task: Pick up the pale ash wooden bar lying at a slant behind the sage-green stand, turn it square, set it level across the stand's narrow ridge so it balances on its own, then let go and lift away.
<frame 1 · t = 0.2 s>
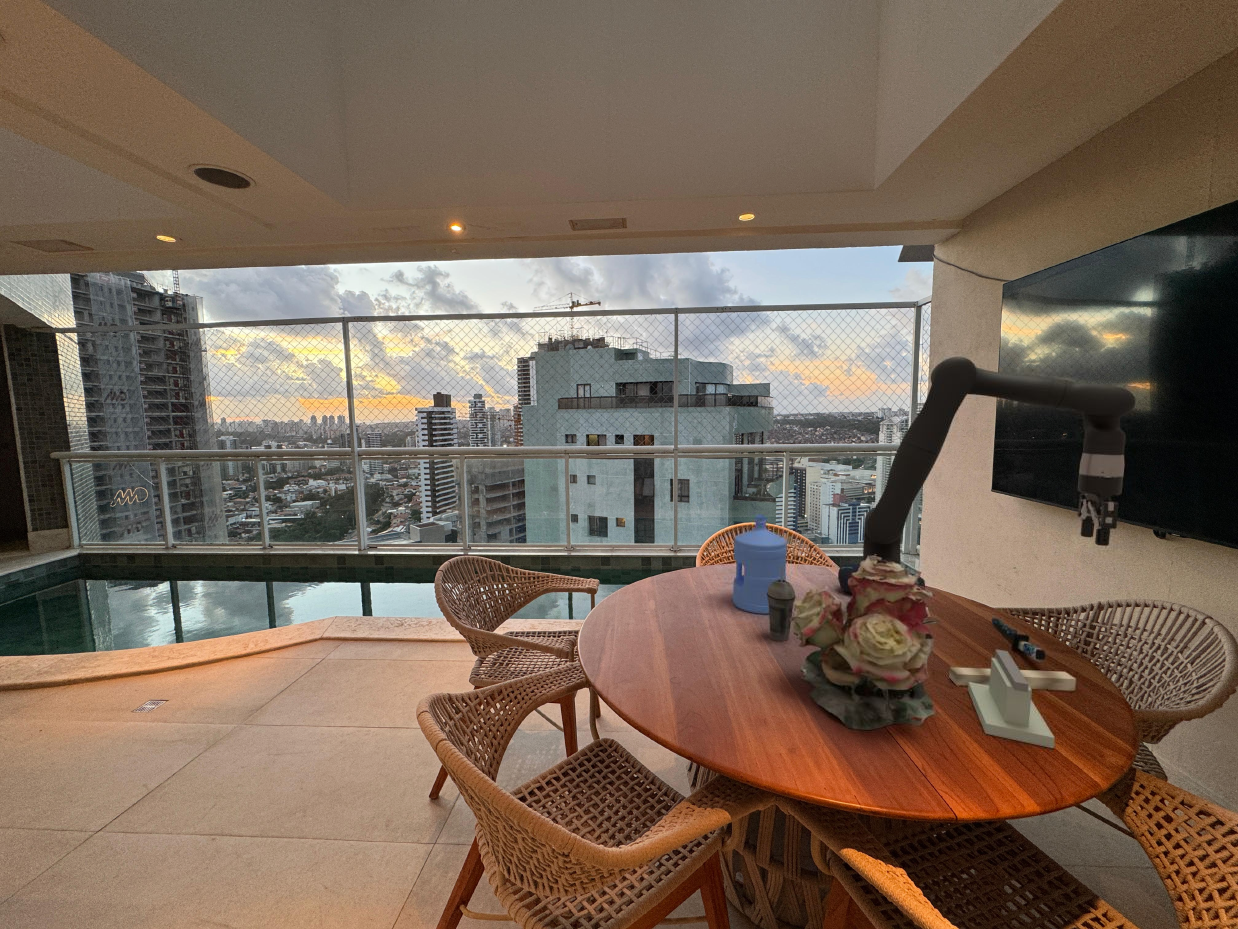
hand: (1093, 540, 120), 29 cm above the table, tool pointing down, fingers open, 8 cm apart
rose bouquet: (865, 698, 106), on the table
water jug: (758, 605, 157), on the table
knife: (1014, 646, 129), on the table
portable speaker: (878, 598, 162), on the table
beverage cup: (779, 638, 134), on the table
stand: (1006, 716, 99), on the table
bar: (1010, 686, 111), on the table
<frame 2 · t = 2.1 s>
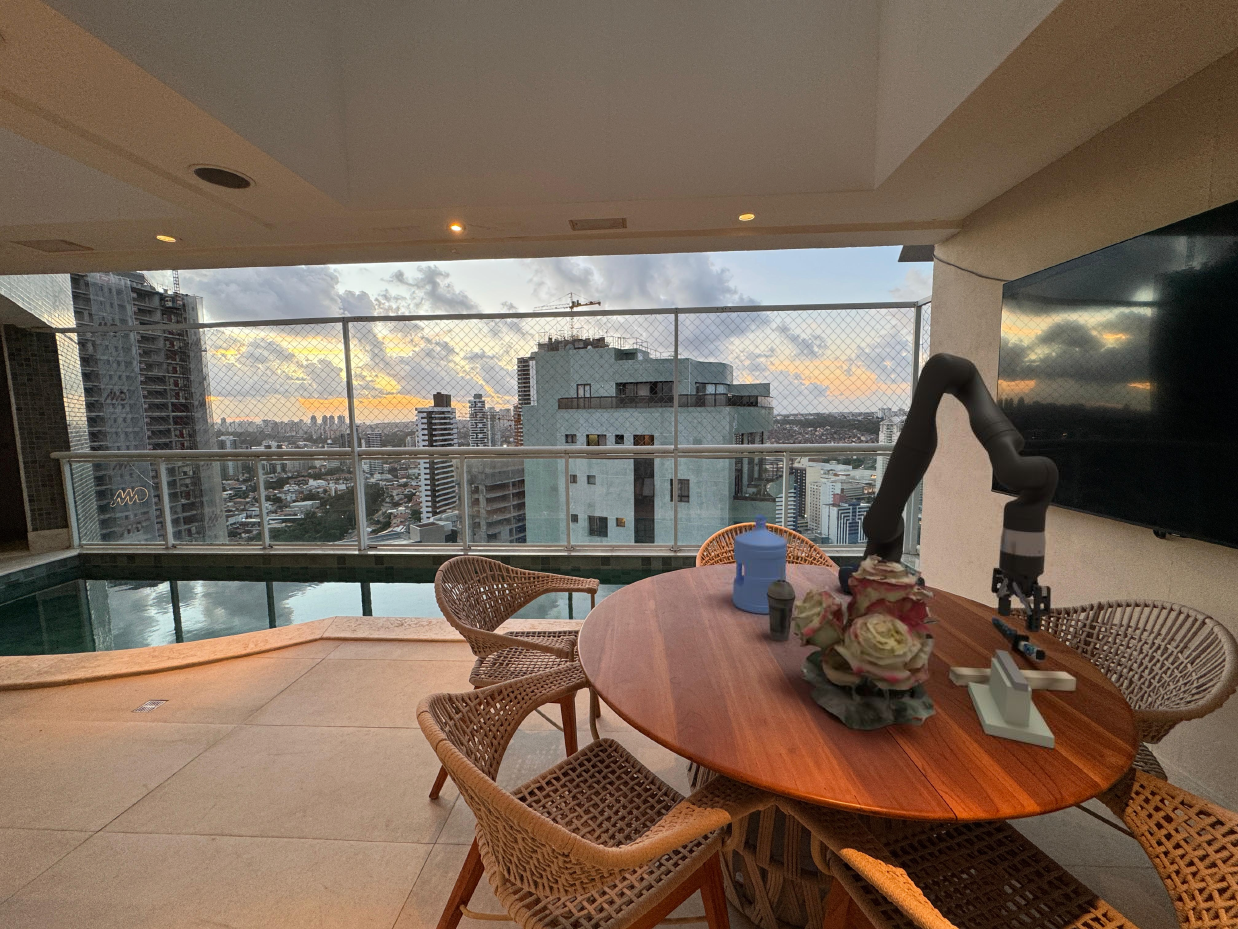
hand: (1017, 623, 109), 14 cm above the table, tool pointing down, fingers open, 8 cm apart
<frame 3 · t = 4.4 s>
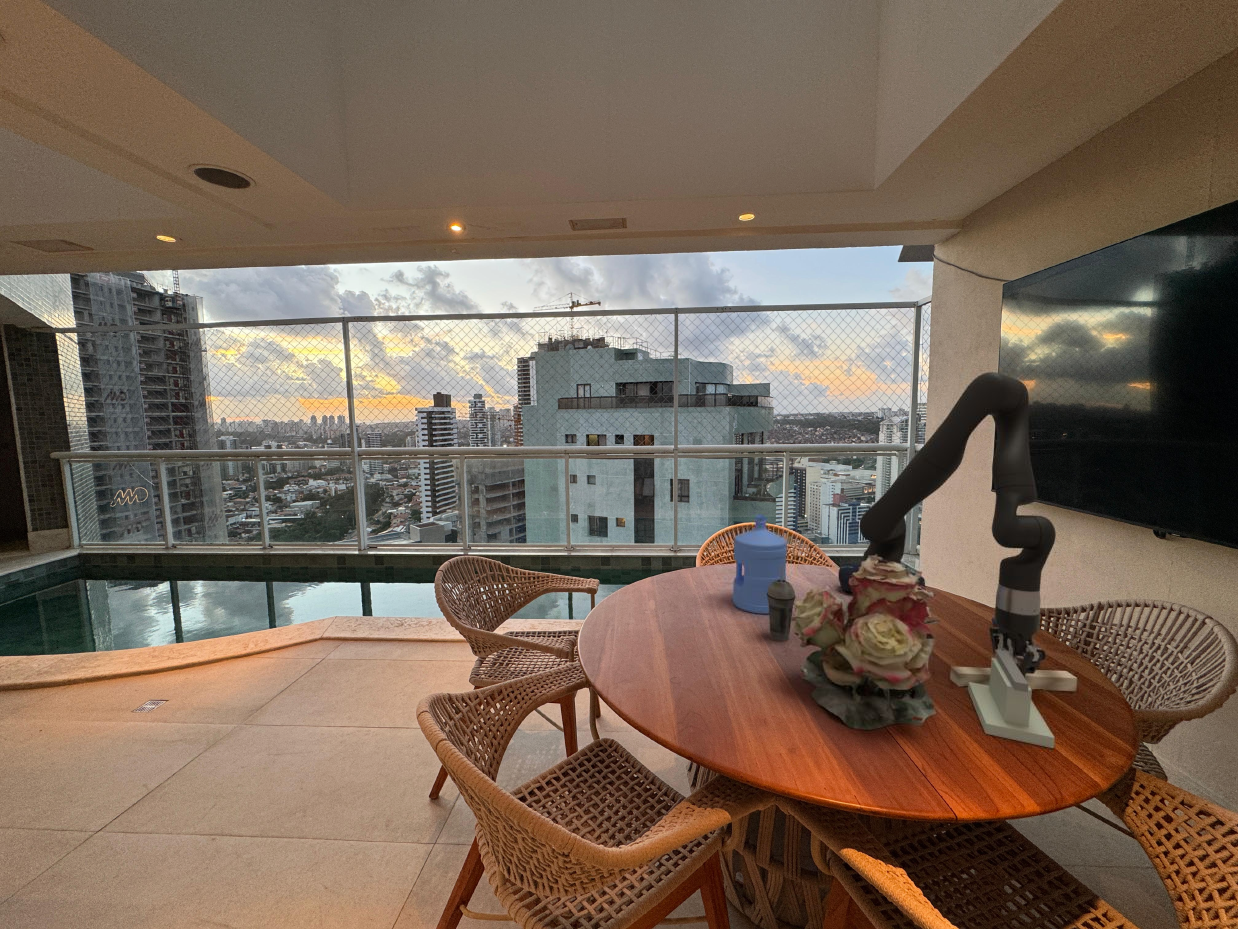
hand: (1011, 682, 111), 0 cm above the table, tool pointing down, fingers closed on bar, 3 cm apart
bar: (1011, 685, 111), on the table, touching gripper
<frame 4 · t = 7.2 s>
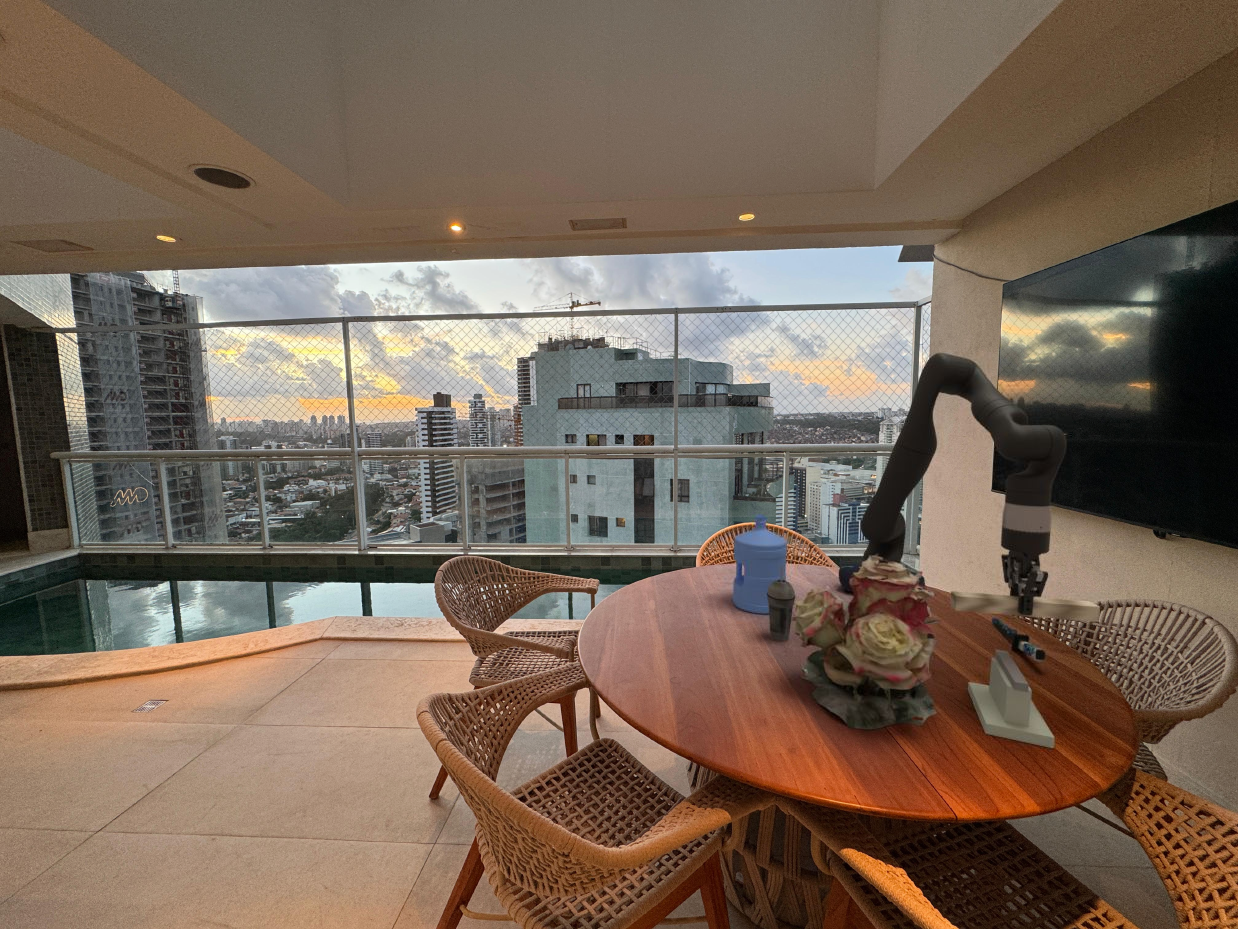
hand: (1020, 610, 102), 20 cm above the table, tool pointing down, fingers closed on bar, 3 cm apart
bar: (1021, 613, 102), point 19 cm above the table, touching gripper
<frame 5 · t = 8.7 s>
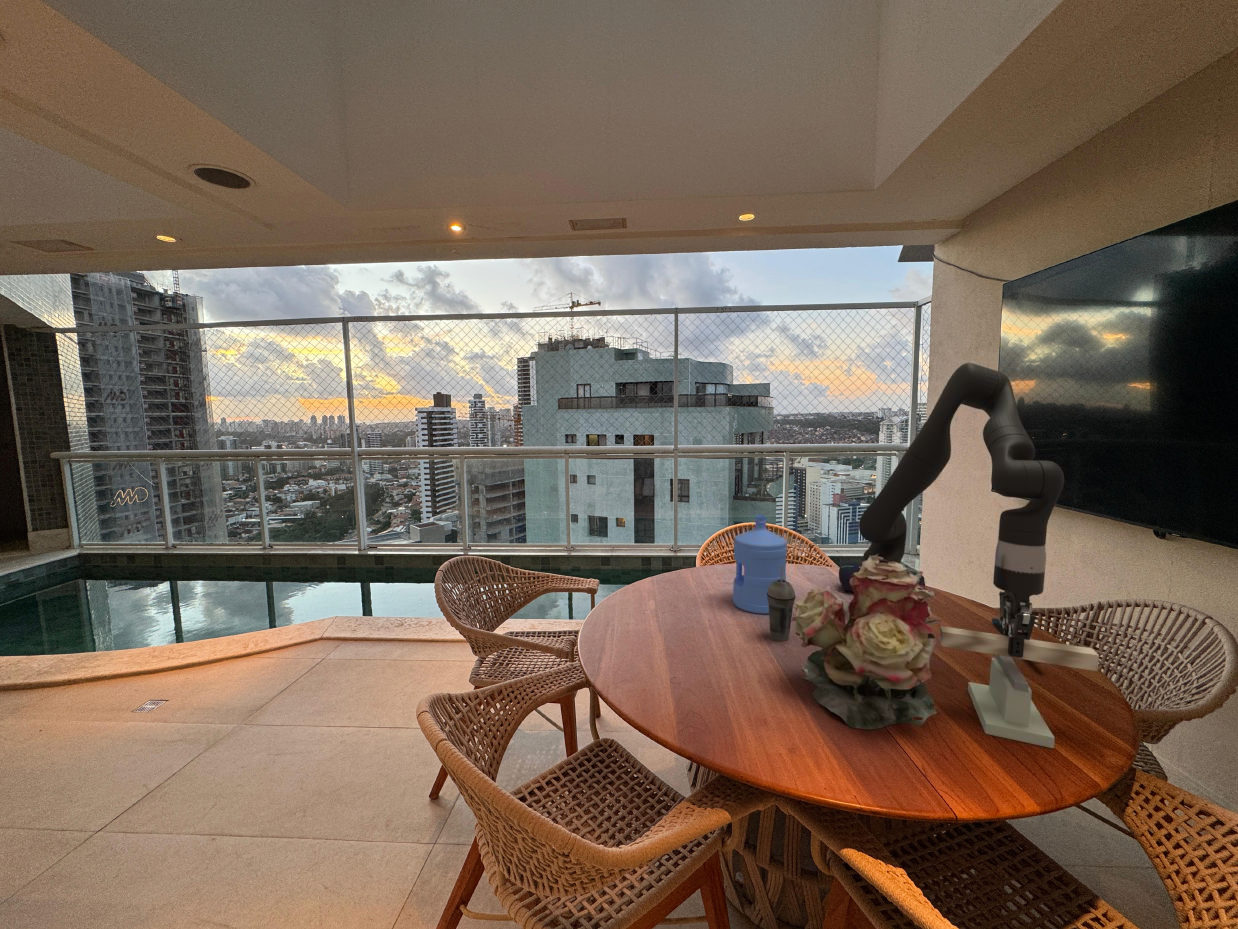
hand: (1012, 651, 98), 13 cm above the table, tool pointing down, fingers closed on bar, 3 cm apart
bar: (1013, 654, 98), point 13 cm above the table, touching gripper
when the fingers open (12 cm above the table, at t = 10.1 s): bar stays where it is, resting on stand.
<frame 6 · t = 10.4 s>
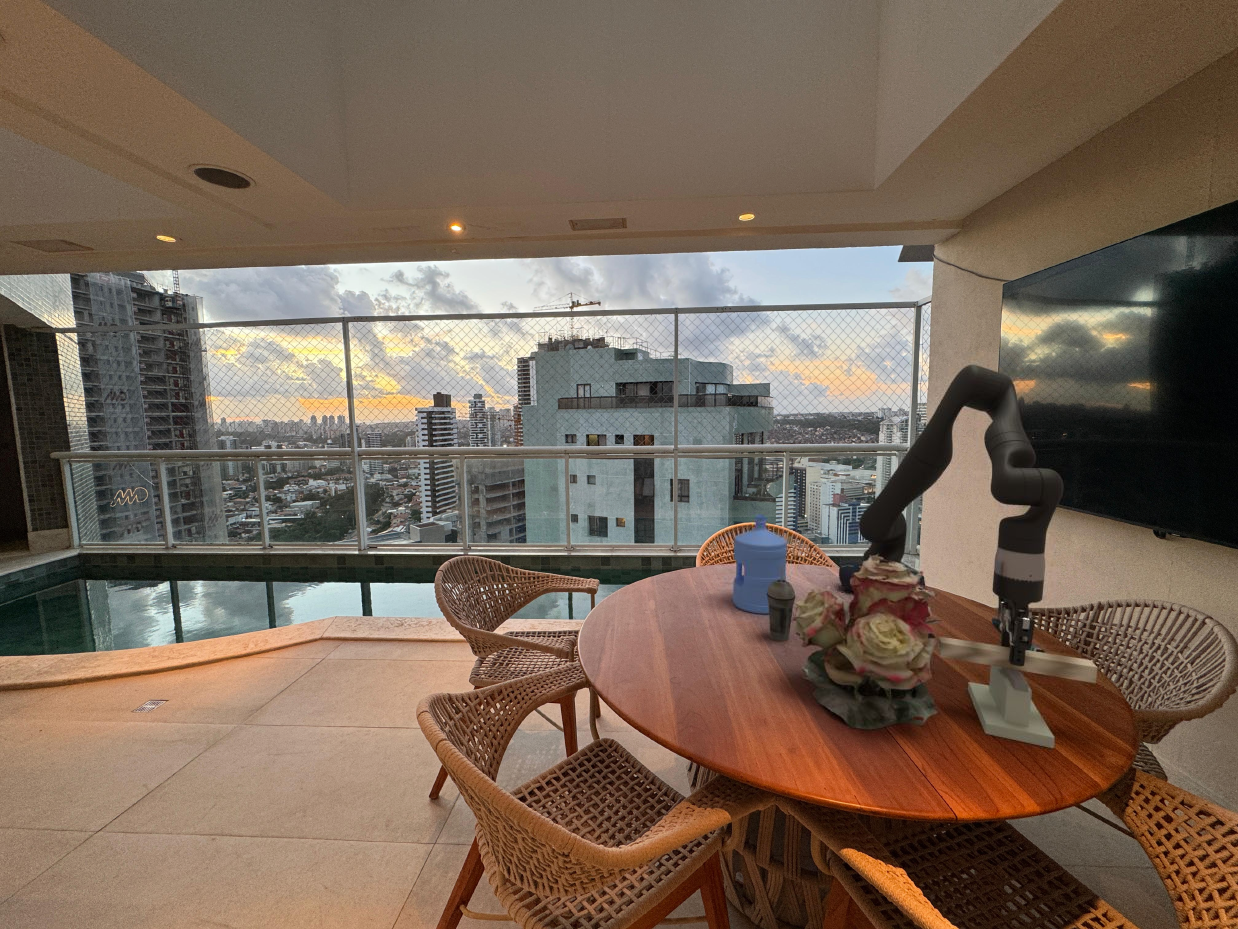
hand: (1011, 657, 98), 12 cm above the table, tool pointing down, fingers open, 5 cm apart
bar: (1011, 665, 98), point 10 cm above the table, touching stand
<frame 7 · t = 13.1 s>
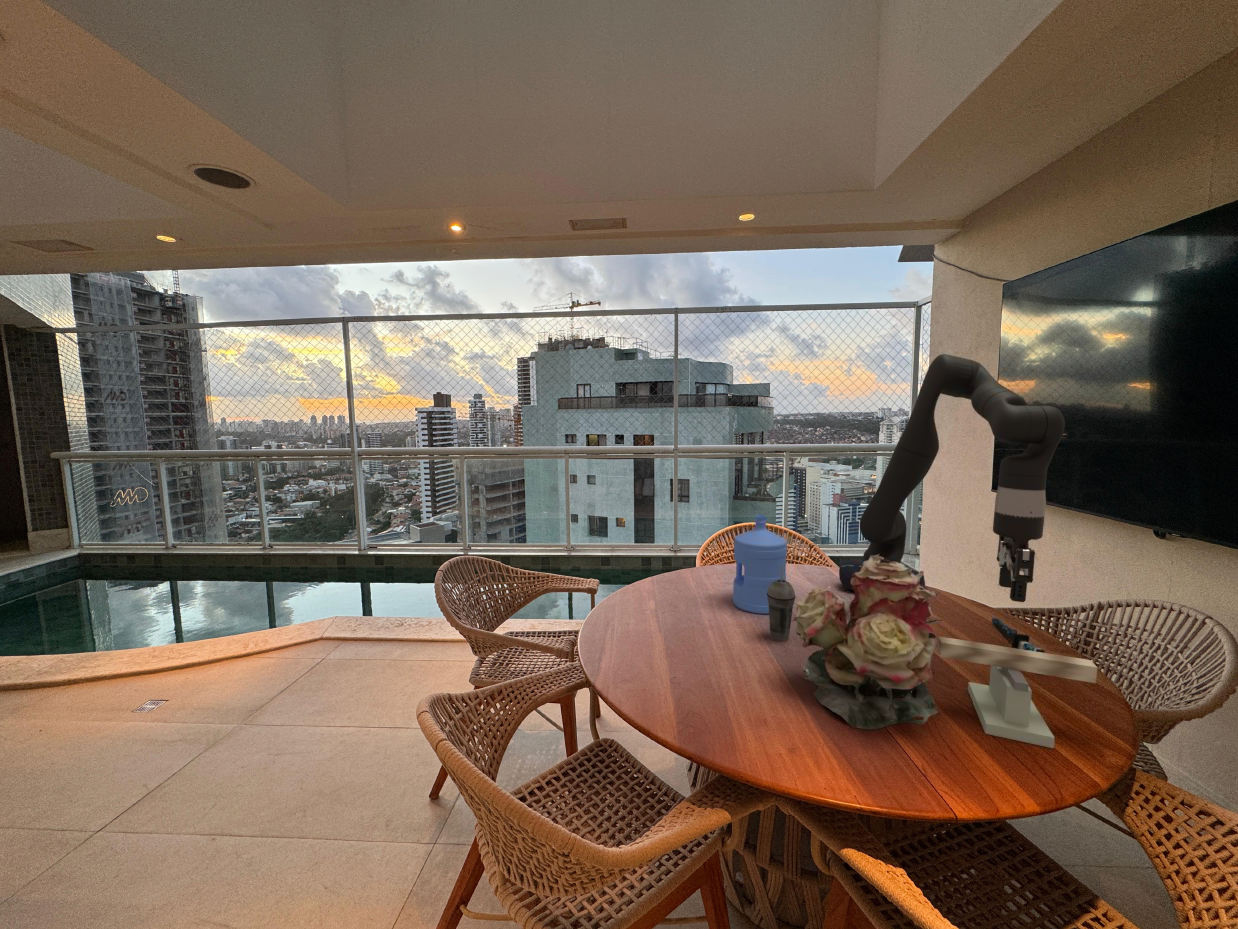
hand: (1011, 593, 98), 24 cm above the table, tool pointing down, fingers open, 8 cm apart
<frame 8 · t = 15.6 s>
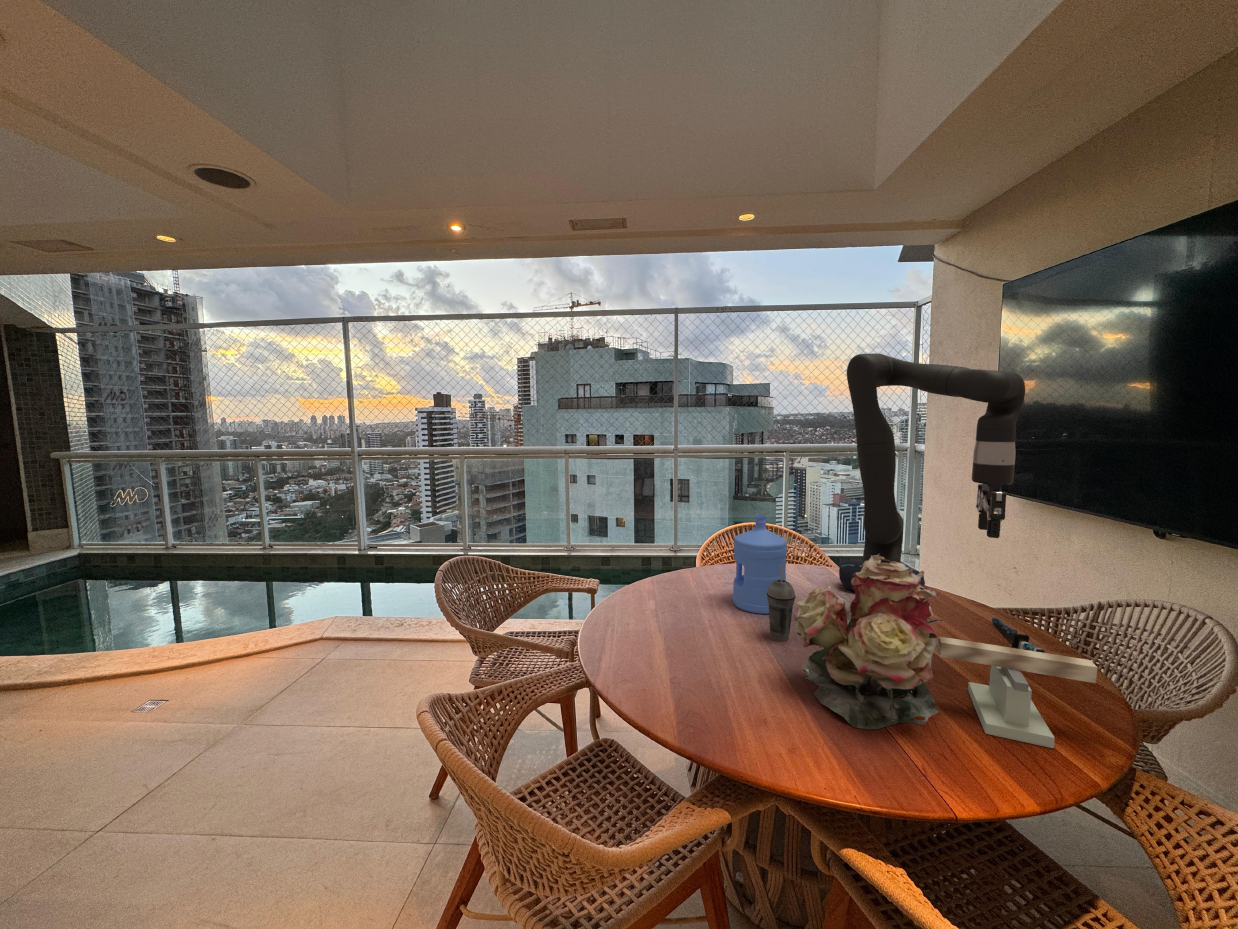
hand: (988, 533, 114), 32 cm above the table, tool pointing down, fingers open, 8 cm apart
at the end: bar inside the target area on the stand (0.1 cm from its centre), point 10.5 cm above the stand's base; bar touching stand; bar tilted 0° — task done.
